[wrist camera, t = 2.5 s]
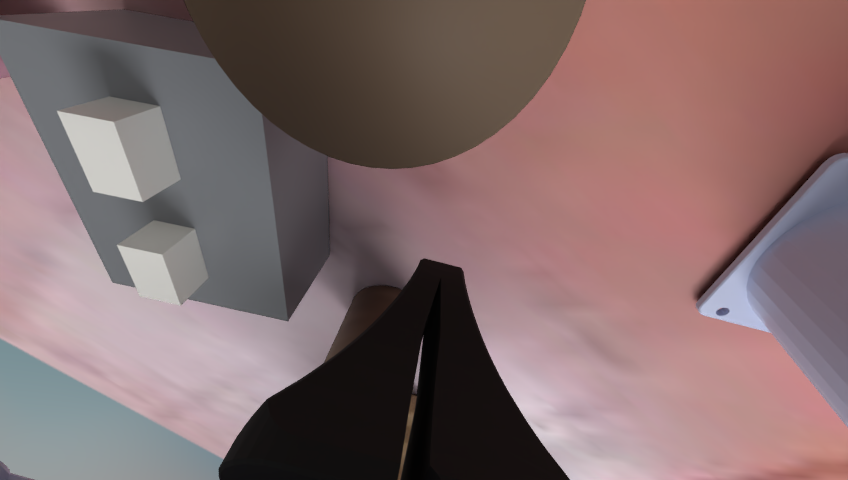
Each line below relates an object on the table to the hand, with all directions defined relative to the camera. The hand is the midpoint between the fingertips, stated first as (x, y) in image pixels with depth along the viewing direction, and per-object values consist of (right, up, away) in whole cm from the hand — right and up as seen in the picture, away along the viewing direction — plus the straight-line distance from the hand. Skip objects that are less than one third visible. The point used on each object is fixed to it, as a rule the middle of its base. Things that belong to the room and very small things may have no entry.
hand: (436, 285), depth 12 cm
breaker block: (-9, +6, +5) cm, 11 cm away
